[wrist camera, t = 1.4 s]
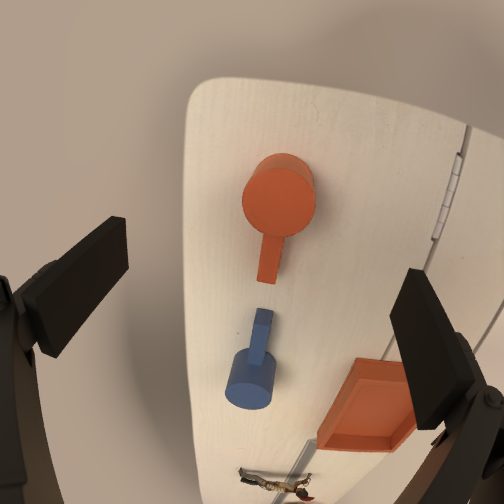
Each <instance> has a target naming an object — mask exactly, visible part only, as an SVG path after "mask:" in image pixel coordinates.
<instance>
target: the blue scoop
mask: <svg viewBox="0 0 504 504" xmlns="http://www.w3.org/2000/svg"><path fill="white" fill-rule="evenodd" d="M272 316H273V311H270V310H265V309H259V308H257V311H256V315H255V320H254V324H253V330H252V336H251V342H250V348H248V349H243V350H241V351H239V352H238V353H237V354H236V355H235V357H234V361H233V364H232V368H231V372H230V376H229V379H228V383H227V387H226V390H225V396H226V398H227V399H228V401H229V402H231V403H232V404H234V405H235V406H237V407H240V408H243V409H249V410H257V409H262V408H264V407H266V406H268V405H269V404H270V402H271V399H272V392H273V385H274V377H275V370H276V361H275V359H274V357H273V356H272V355H271V354H269V353H268V352H266V347H267V342H268V337H269V333H270V328H271V322H272Z"/></svg>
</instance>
